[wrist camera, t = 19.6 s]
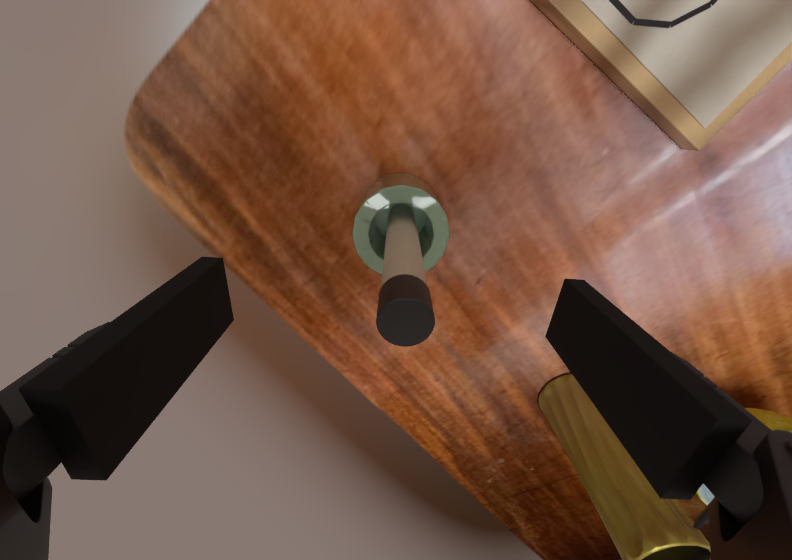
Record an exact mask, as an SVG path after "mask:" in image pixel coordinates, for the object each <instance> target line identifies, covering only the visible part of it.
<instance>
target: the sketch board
mask: <svg viewBox="0 0 792 560" xmlns="http://www.w3.org/2000/svg"><path fill="white" fill-rule="evenodd" d="M530 1H531V2H532V3H534V4H535V5H536V6H537V7H538V8H539V9H540V10H541V11H542V12H543V13H544V14H545V15H546V16H547V17H548V18H549V19H550V20H551V21H552V22H553V23H554V24H555V25H556V26H557V27H558V28H559V29H560V30H561V31H562V32H563V33H564V34H565V35H566V36H567V37H568V38H569V39H570V40H571V41H572V42H573V43H574V44H575V45H576V46H577V47H578V48H579V49H580V50H581V51H582V52H584V53H585V54H586V55H587V56H588V57H589V58H590V59H591V60H592V61H593V62H594V63H595V64H596V65H597V66H598V67H599V68H600V69H601V70H602V71H603V72H604V73H605V74H606V75H607V76H608V77H609V78H610V79H611V80H612V81H613V82H614V83H615V84H616V85H617V86H618V87H619V88H620V89H621V90H622V91H623V92H624V93H625V94H626V95H627V96H628V97H629V98H630V99H631V100H632V101H634V102H635V103H636V104H637V105H638V106H639V107H640V108H641V109H642V110H643V111H644V112H645V113H646V114H647V115H648V116H649V117H650V118H651V119H652V120H653V121H654V122H655V123H656V124H657V125H658V126H659V127H660V128H661V129H662V130H663V131H664V132H665V133H666V134H667V135H668V136H669V137H670V138H671V139H672V140H673V141H674V142H675V143H676V144H677V145H678V146H679V147H680V148H681V149H685V150H696V151H699V150H701V149H702V148H703V147H704V146H705V145H706V144H707V143H708V142H709V141H710V140H711V139H712V138H713V137H714V136H715V135H716V134H717V133H718V132H719V131H720V130H721V129H722V128H723V127H724V126H725V125H726V124H727V123H728V122H729V121H730V120H731V119H732V118H733V117H734V116H735V115H736V114H737V113H738V112H739V111H740V110H741V109H742V108H743V107H744V106H745V105H746V104H747V103H748V102H749V101H750V100H751V99H752V98H753V97H754V96H755V95H756V94H757V93H758V92H759V91H760V90H761V89H763V88H764V87H765V86H766V85H767V84H768V83H769V82H770V81H771V80H772V79H773V78H774V77H775V76H776V75H777V74H778V73H779V72H780V71H781V70H782V69H783V68H784V67H785V66H786V65H787V64H788V63H789V62H790V61H791V60H792V0H530Z"/></svg>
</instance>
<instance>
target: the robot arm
mask: <svg viewBox="0 0 792 560" xmlns="http://www.w3.org/2000/svg"><path fill="white" fill-rule="evenodd" d="M233 320H234V318H233V313H232V307H231V302H230V296H229V290H228V285H227V279H226V274H225V268H224V262H223V258H213V257H201V258H200V259H198V260H197V261H195V262H194V263H193V264H191V265H190V266H188V267H187V268H186V269H184V270H183V271H181V272H180V273H179V274H177V275H176V276H175V277H173V278H172V279H170V280H169V281H167V282H166V283H165V284H163V285H162V286H161V287H159V288H158V289H156V290H155V291H153V292H152V293H151V294H149V295H148V296H146V297H145V298H144V299H143V300H141V301H139V302H138V303H137V304H135V305H134V306H133V307H131V308H130V309H129V310H127V311H126V312H124V313H123V314H121V315H120V316H119V317H117V318H116V319H115V320H113V321H112V322H108V323H105V324H103V325H101V326H99V327H97V328H94V329H92V330H90V331H87V332H85V333H84V334H83V335H81V336H80V337H78V338H77V339H75V340H74V341H73V342H71V343H70V344H68V347H64V348H62V349H61V350H59V351H58V352H57V353H55V354H54V355H53V357H52V358H48V359H46V360H45V361H44V362H42V363H41V364H39V365H38V366H36V367H35V368H33V369H32V370H30V371H29V372H28V373H26V374H25V375H23V376H22V377H20V378H19V379H17V380H16V381H15V382H13V383H12V384H10V385H9V386H7V387H6V388H4V389H3V390H1V391H0V560H48V553H49V535H50V518H51V517H50V516H51V499H52V486H51V483H50V481H49V479H48V478H47V476H49V475H50V474H51V472H52V471H53V470H54V469H55V468H56V467H57V466H58V465H59V464H60V463H61V462H62V464H63V465H64V467H65V469H66V470H67V472H68V474H69V475H70V477H71V479H80V480H107V479H108V478H109V476H110V475H111V474H112V473H113V471H114V470H115V469H116V468H117V466H118V465H119V463H120V462H121V461H122V460H123V459H124V457H125V456H126V455H127V454H128V452H129V451H130V450H131V449H132V447H133V446H134V445H135V444H136V442H137V441H138V440H139V439H140V437H141V436H142V435H143V434H144V432H145V431H146V430H147V428H148V427H149V426H150V425H151V423H152V422H153V421H154V420H155V418H156V417H157V416H158V415H159V413H160V412H161V411H162V410H163V408H164V407H165V406H166V405H167V403H168V402H169V401H170V400H171V398H172V397H173V396H174V394H175V393H176V392H177V391H178V390H179V388H180V387H181V386H182V384H183V383H184V382H185V381H186V379H187V378H188V377H189V376H190V374H191V373H192V372H193V371H194V369H195V368H196V367H197V365H198V364H199V363H200V362H201V361H202V359H203V358H204V357H205V355H206V354H207V353H208V352H209V350H210V349H211V348H212V347H213V345H214V344H215V343H216V342H217V340H218V339H219V338H220V337H221V335H222V334H223V333H224V332H225V330H226V329H227V328H228V326H229V325H230V324H231V323H232V322H233ZM546 338H547V339H548V341H549V342H550V344H551V345H552V346H553V348H554V349H555V351H556V352H557V353H558V355H559V356H560V358H561V359H562V360H563V362H564V363H565V365H566V366H567V368H568V369H569V370H570V372H571V373H572V375H573V376H574V377H575V379H576V380H577V382H578V383H579V384H580V386H581V387H582V389H583V390H584V392H585V393H586V394H587V396H588V397H589V399H590V400H591V401H592V403H593V404H594V406H595V407H596V408H597V410H598V411H599V413H600V414H601V415H602V417H603V418H604V420H605V421H606V423H607V424H608V425H609V427H610V428H611V430H612V431H613V432H614V434H615V435H616V437H617V438H618V439H619V441H620V442H621V444H622V445H623V446H624V448H625V449H626V451H627V452H628V454H629V455H630V456H631V458H632V459H633V461H634V462H635V463H636V465H637V466H638V468H639V469H640V470H641V472H642V473H643V475H644V476H645V478H646V479H647V480H648V482H649V483H650V485H651V486H652V487H653V489H654V490H655V492H656V493H657V494H658V496H659V497H660V499H688V500H691V498H692V497H693V496H694V495H695V493H696V492H697V491H698V489H699V488H700V487H701V486H702V484H704V485H705V486H706V487H707V488H708V489H709V491H710V492H711V493H712V494H713V495H714V496H715V497H714V498H713V499H712V501H711V502H710V503H709V504H708V505H707V507H706V508H705V509H704V510H703V511H702V513H701V514H700V515H699V516H698V517H697V519H696V520H695V522H694V525H693V527H694V528H695V529H697V530H699V529H700V528H701V527H702V526H703V525H704V524H705V523H709V533H708V534H707V536H709V537H710V550H711V560H792V432H789V431H783V430H773V431H772V430H771V429H770V428H768V427H767V426H766V425H765V424H763V423H762V422H761V421H760V420H759V419H757V418H756V417H755V416H754V415H752V414H751V413H750V412H749V411H747V410H746V409H745V408H744V407H743V406H741V405H740V404H739V403H738V402H736V401H735V400H734V399H733V398H732V397H730V396H729V395H728V394H727V393H725V392H724V391H723V390H722V389H721V388H717V385H716V384H714V383H713V382H712V381H711V380H710V379H708V378H707V377H704V376H703V374H702V373H701V372H700V371H699V370H697V369H696V368H695V367H694V366H692V365H691V364H690V363H689V362H687V361H686V360H684V359H682V358H680V357H679V356H677V355H675V354H673V353H672V352H670V351H669V350H667V349H666V348H665V347H664V346H663V345H661V344H660V343H659V342H658V341H657V340H655V339H654V338H653V337H652V336H651V335H649V334H648V333H647V332H646V331H645V330H643V329H642V328H641V327H640V326H639V325H637V324H636V323H635V322H634V321H633V320H631V319H630V318H629V317H628V316H627V315H625V314H624V313H623V312H622V311H621V310H619V309H618V308H617V307H616V306H615V305H613V304H612V303H611V302H610V301H609V300H607V299H606V298H605V297H604V296H603V295H601V294H600V293H599V292H598V291H597V290H595V289H594V288H593V287H592V286H591V285H589V284H588V283H587V282H586V281H585V280H576V279H565V280H564V283H563V286H562V289H561V292H560V295H559V298H558V301H557V304H556V307H555V310H554V313H553V316H552V319H551V322H550V325H549V328H548V331H547V334H546Z"/></svg>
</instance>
